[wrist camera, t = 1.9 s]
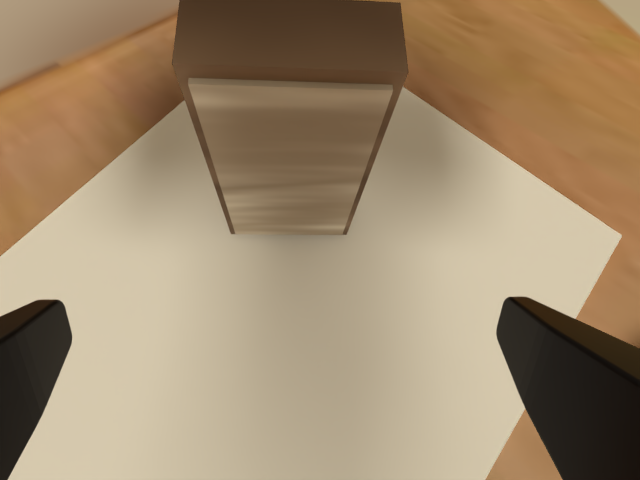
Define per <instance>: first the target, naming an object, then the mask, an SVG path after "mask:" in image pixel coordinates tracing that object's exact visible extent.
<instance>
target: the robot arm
mask: <svg viewBox="0 0 640 480" xmlns="http://www.w3.org/2000/svg"><path fill="white" fill-rule="evenodd" d="M496 336H497V340H498V343H499V345H500V348H501V350H502V353H503V355H504V358H505V360H506V363H507V365H508V368H509V370H510V373H511V376H512V378H513V381H514V383H515V386H516V388H517V391H518V393H519V395H520V398H521V400H522V402H523V404H524V406H525V408H526V410H527V412H528V414H529V416H530V418H531V420H532V422H533V424H534V426H535V428H536V430H537V432H538V433H539V435H540V437H541V439H542V441H543V443H544V445H545V447H546V449H547V451H548V453H549V454H550V456H551V458H552V460H553V462H554V464H555V466H556V468H557V470H558V472H559V473H560V475H561V477H562V479H563V480H640V349H639V348H637V347H635V346H633V345H631V344H628V343H626V342H624V341H622V340H620V339H618V338H615V337H613V336H611V335H609V334H607V333H605V332H602V331H600V330H598V329H596V328H594V327H591V326H589V325H587V324H585V323H583V322H581V321H578V320H576V319H574V318H572V317H570V316H568V315H565V314H563V313H561V312H559V311H557V310H555V309H552V308H550V307H548V306H546V305H544V304H542V303H539V302H537V301H535V300H533V299H531V298H529V297H524V296H515V297H507V298H506V299H505V300H504V302H503V305H502V309H501V313H500V317H499V320H498V324H497V329H496ZM71 344H72V331H71V327H70V324H69V320H68V316H67V312H66V308H65V305H64V304H63V302H62V301H60V300H57V299H43V300H36V301H34V302H31V303H29V304H27V305H25V306H22V307H20V308H18V309H16V310H13V311H11V312H9V313H7V314H4V315H2V316H0V480H8V478H9V476H10V475H11V473H12V471H13V469H14V467H15V465H16V463H17V462H18V460H19V458H20V456H21V454H22V452H23V451H24V449H25V447H26V445H27V443H28V441H29V439H30V438H31V436H32V434H33V432H34V430H35V428H36V426H37V425H38V423H39V421H40V419H41V417H42V415H43V412H44V410H45V408H46V406H47V403H48V401H49V399H50V396H51V394H52V391H53V389H54V386H55V384H56V381H57V379H58V377H59V374H60V372H61V369H62V367H63V364H64V362H65V359H66V357H67V355H68V352H69V350H70V347H71Z"/></svg>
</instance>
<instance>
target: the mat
mask: <svg viewBox="0 0 640 480" xmlns="http://www.w3.org/2000/svg"><path fill="white" fill-rule="evenodd" d="M621 237H622V235H621V234H619V233H618V232H616V231H615V230H613V229H612V228H610V227H609V226H607V225H606V224H604V223H603V222H602V221H600V220H599V219H597V218H596V217H594V216H593V215H591V214H590V213H588V212H587V211H585V210H584V209H582V208H581V207H579V206H578V205H576V204H575V203H574V202H572V201H571V200H569V199H568V198H566V197H565V196H563V195H562V194H560V193H559V192H557V191H556V190H554V189H553V188H551V187H550V186H549V185H547V184H546V183H544V182H543V181H541V180H540V179H538V178H537V177H535V176H534V175H532V174H531V173H529V172H528V171H526V170H525V169H523V168H522V167H521V166H519V165H518V164H516V163H515V162H513V161H512V160H510V159H509V158H507V157H506V156H504V155H503V154H501V153H500V152H498V151H497V150H495V149H494V148H493V147H491V146H490V145H488V144H487V143H485V142H484V141H482V140H481V139H479V138H478V137H476V136H475V135H473V134H472V133H470V132H469V131H468V130H466V129H465V128H463V127H462V126H460V125H459V124H457V123H456V122H454V121H453V120H451V119H450V118H448V117H447V116H445V115H444V114H442V113H441V112H440V111H438V110H437V109H435V108H434V107H432V106H431V105H429V104H428V103H426V102H425V101H423V100H422V99H420V98H419V97H417V96H416V95H414V94H413V93H412V92H410V91H409V90H407V89H406V88H404V87H402V90H401V93H400V95H399V98H398V101H397V103H396V106H395V108H394V111H393V114H392V116H391V119H390V122H389V124H388V127H387V130H386V132H385V135H384V137H383V140H382V143H381V145H380V148H379V151H378V153H377V156H376V159H375V161H374V164H373V166H372V169H371V172H370V174H369V177H368V180H367V182H366V185H365V188H364V190H363V193H362V195H361V198H360V201H359V203H358V206H357V209H356V211H355V214H354V217H353V219H352V222H351V224H350V227H349V230H348V232H347V235H249V234H231V233H230V230H229V227H228V224H227V221H226V218H225V215H224V213H223V210H222V207H221V204H220V201H219V198H218V195H217V192H216V189H215V186H214V184H213V181H212V178H211V175H210V172H209V169H208V166H207V163H206V160H205V158H204V155H203V152H202V149H201V146H200V143H199V140H198V137H197V134H196V131H195V129H194V126H193V123H192V120H191V117H190V114H189V111H188V108H187V105H186V102H185V100H184V101H183V102H182V103H180V104H179V105H178V106H177V107H176V108H175V109H173V110H172V111H171V112H170V113H169V114H167V115H166V116H165V117H164V118H163V119H162V120H160V121H159V122H158V123H157V124H156V125H155V126H153V127H152V128H151V129H150V130H149V131H147V132H146V133H145V134H144V135H143V136H142V137H140V138H139V139H138V140H137V141H136V142H135V143H133V144H132V145H131V146H130V147H129V148H127V149H126V150H125V151H124V152H123V153H122V154H120V155H119V156H118V157H117V158H116V159H114V160H113V161H112V162H111V163H110V164H109V165H107V166H106V167H105V168H104V169H103V170H102V171H100V172H99V173H98V174H97V175H96V176H94V177H93V178H92V179H91V180H90V181H89V182H87V183H86V184H85V185H84V186H83V187H82V188H80V189H79V190H78V191H77V192H76V193H74V194H73V195H72V196H71V197H70V198H69V199H67V200H66V201H65V202H64V203H63V204H62V205H60V206H59V207H58V208H57V209H56V210H54V211H53V212H52V213H51V214H50V215H49V216H47V217H46V218H45V219H44V220H43V221H41V222H40V223H39V224H38V225H37V226H36V227H34V228H33V229H32V230H31V231H30V232H29V233H27V234H26V235H25V236H24V237H23V238H21V239H20V240H19V241H18V242H17V243H16V244H14V245H13V246H12V247H11V248H10V249H9V250H7V251H6V252H5V253H4V254H3V255H1V256H0V316H2V315H4V314H7V313H9V312H11V311H13V310H16V309H18V308H20V307H22V306H25V305H27V304H29V303H31V302H34V301H36V300H43V299H57V300H60V301H62V302H63V304H64V305H65V308H66V312H67V316H68V320H69V324H70V327H71V331H72V344H71V347H70V350H69V352H68V355H67V357H66V359H65V362H64V364H63V367H62V369H61V372H60V374H59V377H58V379H57V381H56V384H55V386H54V389H53V391H52V394H51V396H50V399H49V401H48V403H47V406H46V408H45V410H44V412H43V415H42V417H41V419H40V421H39V423H38V425H37V426H36V428H35V430H34V432H33V434H32V436H31V438H30V439H29V441H28V443H27V445H26V447H25V449H24V451H23V452H22V454H21V456H20V458H19V460H18V462H17V463H16V465H15V467H14V469H13V471H12V473H11V475H10V476H9V478H8V480H485V479H486V477H487V475H488V474H489V472H490V470H491V468H492V467H493V465H494V463H495V461H496V459H497V458H498V456H499V454H500V452H501V451H502V449H503V447H504V445H505V443H506V442H507V440H508V438H509V436H510V434H511V433H512V431H513V429H514V427H515V426H516V424H517V422H518V420H519V418H520V417H521V415H522V413H523V411H524V410H525V406H524V404H523V402H522V400H521V398H520V395H519V393H518V391H517V388H516V386H515V383H514V381H513V378H512V376H511V373H510V370H509V368H508V365H507V363H506V360H505V358H504V355H503V353H502V350H501V348H500V345H499V343H498V340H497V336H496V329H497V324H498V320H499V317H500V313H501V309H502V305H503V302H504V300H505V299H506V298H507V297H515V296H524V297H529V298H531V299H533V300H535V301H537V302H539V303H542V304H544V305H546V306H548V307H550V308H552V309H555V310H557V311H559V312H561V313H563V314H565V315H568V316H570V317H572V318H574V319H576V317H577V315H578V313H579V312H580V310H581V308H582V306H583V304H584V303H585V301H586V299H587V297H588V296H589V294H590V292H591V290H592V288H593V287H594V285H595V283H596V281H597V280H598V278H599V276H600V274H601V272H602V271H603V269H604V267H605V265H606V263H607V262H608V260H609V258H610V256H611V255H612V253H613V251H614V249H615V247H616V246H617V244H618V242H619V240H620V239H621Z"/></svg>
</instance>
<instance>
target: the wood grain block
mask: <svg viewBox="0 0 640 480" xmlns="http://www.w3.org/2000/svg"><path fill="white" fill-rule="evenodd" d="M172 65H173V68H174V71H175V73H176V76H177V79H178V82H179V85H180V88H181V91H182V94H183V97H184V100H185V102H186V105H187V108H188V111H189V114H190V117H191V120H192V123H193V126H194V129H195V131H196V134H197V137H198V140H199V143H200V146H201V149H202V152H203V155H204V158H205V160H206V163H207V166H208V169H209V172H210V175H211V178H212V181H213V184H214V186H215V189H216V192H217V195H218V198H219V201H220V204H221V207H222V210H223V213H224V215H225V218H226V221H227V224H228V227H229V230H230V233H231V234H249V235H347V232H348V230H349V227H350V224H351V222H352V219H353V217H354V214H355V211H356V209H357V206H358V203H359V201H360V198H361V195H362V193H363V190H364V188H365V185H366V182H367V180H368V177H369V174H370V172H371V169H372V166H373V164H374V161H375V159H376V156H377V153H378V151H379V148H380V145H381V143H382V140H383V137H384V135H385V132H386V130H387V127H388V124H389V122H390V119H391V116H392V114H393V111H394V108H395V106H396V103H397V101H398V98H399V95H400V93H401V90H402V87H403V85H404V82H405V79H406V77H407V74H408V64H407V56H406V47H405V39H404V30H403V22H402V13H401V4H400V3H395V2H374V1H354V0H180V2H179V10H178V18H177V26H176V35H175V43H174V51H173V59H172Z"/></svg>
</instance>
